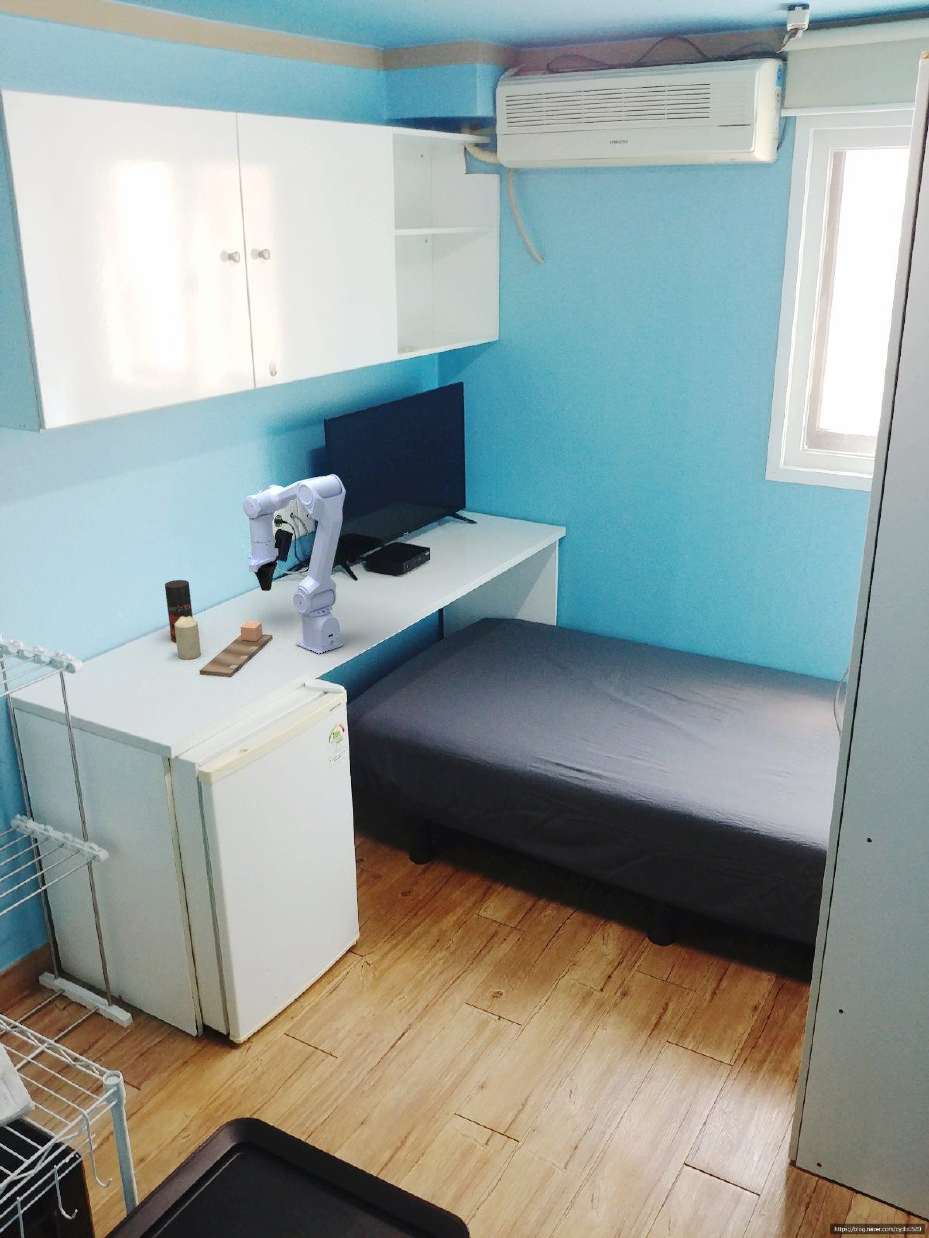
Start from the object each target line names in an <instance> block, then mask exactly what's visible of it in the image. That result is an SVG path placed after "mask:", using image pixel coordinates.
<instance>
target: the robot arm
mask: <svg viewBox="0 0 929 1238" xmlns="http://www.w3.org/2000/svg"><path fill="white" fill-rule="evenodd" d="M346 493H347V491H346V489H345V487H344V484H343V483H342V480H341V478H340V477H339V476H338V475H336V474H333V473H332V474H329V475H323V476H317V477H311V478H307V479H306V478H305V479H303V480H299V481H296V482H293V483H292V484H290V485H288V486H286V487H283V486H281V485H277V484H271V485H269V486H268V489H265V490H264V489H261V490H259V491H258V493H256V494H253V495H247V496H246V497H244V499H243V501H242V508H243V511H244V514H245V516H246V517H248V521H249V536H250V544H251V545H250V546H251V547H250V548H251V554H249V555H248V556H247V558H248V560H250V563H248V572H250V573H251V572H252V573H254V575H255V576H256V579H257V580H258V584H259V586H260V589H261V591H264V592H270V591H271V590H272V585H273V578H274V573H275V571H276V570H277V569H276V568H277V566H278V562H277V561H275V560H276V559H277V557H278V556H279V548H276V547H275V542H274V529H273V528H274V527H273V521H274V520H275V512H278V511H280V510H282V509H285V508H287V507H288V505H289V503H290V501H292V500H294V499H297V501H298V502H300V503H301V504H302V506H303V507H304V509H305V510H306V511H307V512H308V514H309V515H310V517H311V518H312V519H313V520H314V521H318V522H317V527H316V533H315V536H314V537H315V538H314V543H313V547H312V552H311V555H310V556H311V557H310V562H309V566H308V571H307V575H306V577H304V578H303V580H301V581H300V583H299V584H298V586H297V590H296V591H295V592H294V593H293V596H292V603H293V606H294V608H295V611H297V612H298V614H300V615H301V616H300V617H301V626H302V627H301V629H302V631H301V632H302V640H300V641H297V642H296V646H298V647H301V648H303V649H305V648H306V650H308V651H310V650H312V651H311V652H313V651H314V652H313V653H315V652H316V654H317V653H318V655H320V653H321V654H324V653H326V652H329V651H332V650H335V649H337V648H340V647H343V646H344V643H342V642H341V633H340V631H341V629H340V623H339V619H337V618H336V617H335V616H333V614H332V613H331V611H332V610H333V606H334V605H335V603H336V601H337V592H336V591H337V590H336V589H337V583H336V582H335V580H333V578H332V577H331V575H332V570H333V566H334V560H335V556H336V552H337V548H338V543H339V538H340V533H341V530H342V527H343V526H342V524H343V520H344V518H343V506H344V502H345V498H346ZM328 650H329V651H328ZM325 651H326V652H325ZM323 652H324V653H323Z"/></svg>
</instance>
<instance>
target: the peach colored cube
mask: <svg viewBox="0 0 929 1238" xmlns="http://www.w3.org/2000/svg"><path fill="white" fill-rule="evenodd" d="M263 634H264V633H263V625H262V622H257V621H245V623H244V624H242V625H241V626H240V635H241V639H242V640H248V641H257V640H258V639H259V638H260V637H261V636H263Z"/></svg>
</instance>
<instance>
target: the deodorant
mask: <svg viewBox="0 0 929 1238" xmlns="http://www.w3.org/2000/svg"><path fill="white" fill-rule="evenodd" d="M164 588H165V591H164V592H165V597H166V598H165V599H166V607H167V616H168V624H169V631H170V632H169V633H170V638H171V639H170V641H171V640H172V641H173V642H172V641H171V642H172V643H175V644H177V642H176V633H175V623H176V622H177V621H178V619H179V618H180V617H182V616H183V617H188V616H191V617H192V618H193V619H194V617H193V608H192V599H191V590H190V582H189V581H188V580H185V579H176V580H175V579H174V580H170V581H167V582H165V583H164Z"/></svg>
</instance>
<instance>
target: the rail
mask: <svg viewBox="0 0 929 1238" xmlns="http://www.w3.org/2000/svg"><path fill="white" fill-rule="evenodd" d="M262 634H263V636H261V637H260V638H259V639H258V640H257V641H248V640H242V639H241V634H240V635H239V636H238V637H237V638H235V639H234V640H233V641H232V642H230V644H228V645H227V646H226V647H225V648H224V649H223V650H221V651H220V652H219V653H218V654H217V655H216V656H214V657H213V658H212V659H211V660H210V661H208V662H207V663H206V664H205V665H204V666H203V667H202V668H201V669H199V671H198V672H199V675H203V676H215V677H216V676H217V677H227V678H232V677H234V675H235V674H236V673H237V672H238V671H239V670H241V669H242V668H243V667H244V666H245V665H246V664H247V663H248V662H249V661H250V660H252V659H253V657H255V656H256V655H257V654H258V653H259V652H260V651H261V650H262V649H263V648H265V646H266V645H267V644H268V643H269V642H271V641H272V640H273V634H264V633H262Z"/></svg>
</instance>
